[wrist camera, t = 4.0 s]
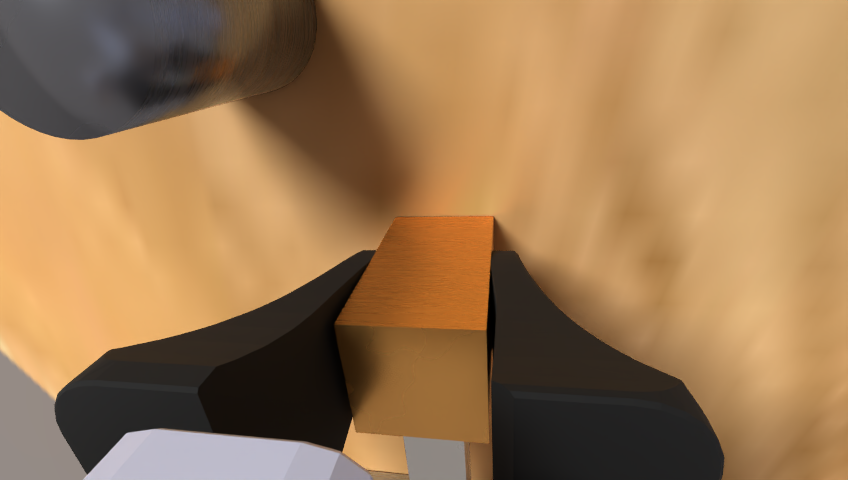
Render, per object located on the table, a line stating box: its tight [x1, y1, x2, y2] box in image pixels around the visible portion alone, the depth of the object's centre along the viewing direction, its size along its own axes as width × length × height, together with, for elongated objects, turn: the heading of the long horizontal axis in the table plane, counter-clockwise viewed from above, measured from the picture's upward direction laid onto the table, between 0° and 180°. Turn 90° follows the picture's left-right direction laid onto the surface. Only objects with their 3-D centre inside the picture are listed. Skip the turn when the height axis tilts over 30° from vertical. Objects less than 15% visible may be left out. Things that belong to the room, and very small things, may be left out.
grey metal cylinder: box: [0, 0, 317, 140], centre depth 9 cm, size 4×4×6 cm
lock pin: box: [334, 216, 494, 480], centre depth 14 cm, size 3×14×6 cm, turn 5°
